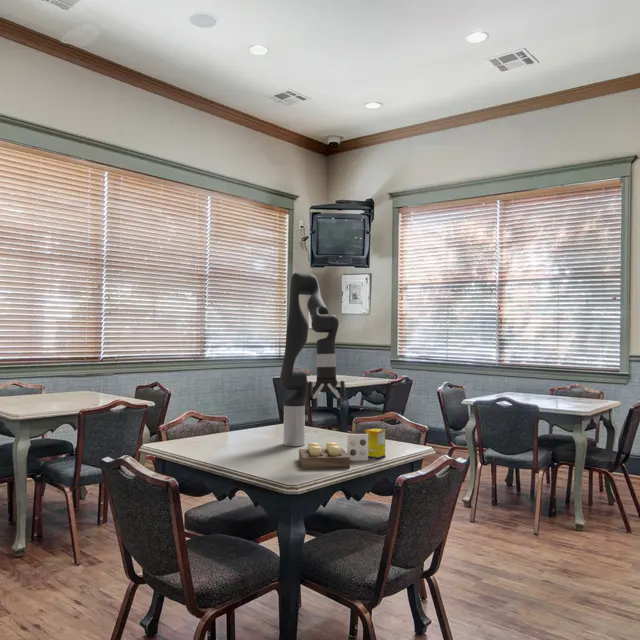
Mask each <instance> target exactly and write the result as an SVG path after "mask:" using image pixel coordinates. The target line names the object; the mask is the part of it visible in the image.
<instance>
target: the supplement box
mask: <svg viewBox="0 0 640 640" xmlns="http://www.w3.org/2000/svg"><path fill="white" fill-rule="evenodd" d="M364 434H368V457H369V458H368V459H372V458H375V459H374V460H378V459H383V458H386V429H385V428H384V429H382V428H373V427H372V428H369V429H365V431H364Z"/></svg>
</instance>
